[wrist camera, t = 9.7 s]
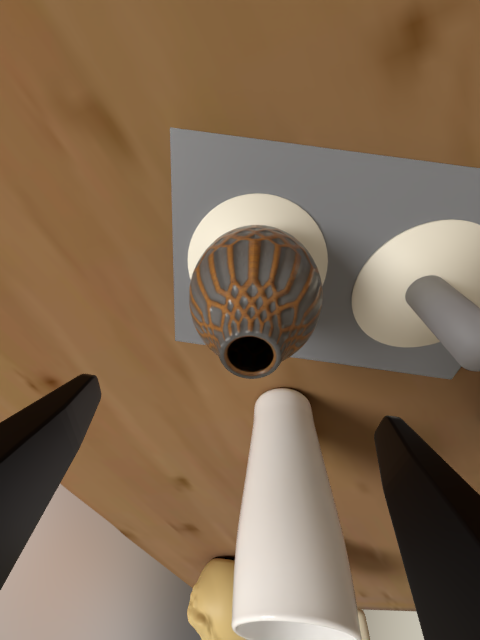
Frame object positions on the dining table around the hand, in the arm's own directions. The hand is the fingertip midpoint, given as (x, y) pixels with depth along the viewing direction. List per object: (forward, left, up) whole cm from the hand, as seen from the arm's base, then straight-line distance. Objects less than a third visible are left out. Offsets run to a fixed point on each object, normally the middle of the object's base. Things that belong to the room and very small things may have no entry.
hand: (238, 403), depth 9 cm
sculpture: (-4, +59, -13) cm, 61 cm away
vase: (0, 0, -11) cm, 11 cm away
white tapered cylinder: (-5, +14, -13) cm, 19 cm away
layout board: (-6, 0, -12) cm, 14 cm away
